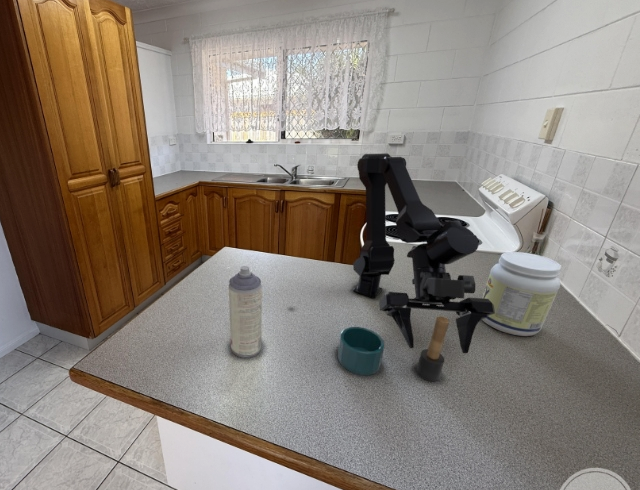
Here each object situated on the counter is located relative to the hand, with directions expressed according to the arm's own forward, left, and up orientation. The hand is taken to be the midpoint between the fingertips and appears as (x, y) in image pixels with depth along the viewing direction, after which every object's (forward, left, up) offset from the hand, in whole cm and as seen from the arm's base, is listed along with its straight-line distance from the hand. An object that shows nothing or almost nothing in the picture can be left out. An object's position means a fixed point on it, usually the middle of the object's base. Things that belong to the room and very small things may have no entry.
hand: (438, 350), depth 58 cm
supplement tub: (-32, +10, -7) cm, 34 cm away
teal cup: (+4, -13, -7) cm, 15 cm away
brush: (-1, -1, -7) cm, 7 cm away
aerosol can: (+16, -34, -7) cm, 38 cm away
